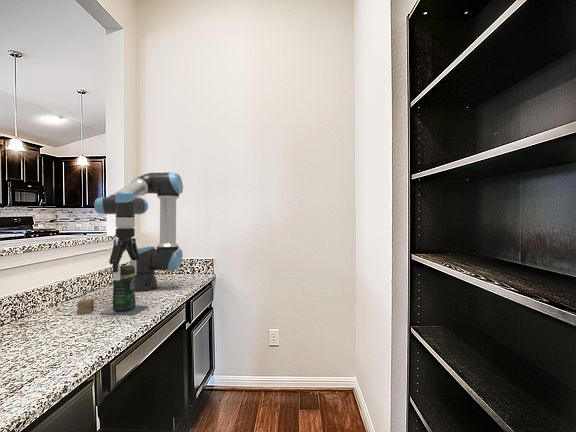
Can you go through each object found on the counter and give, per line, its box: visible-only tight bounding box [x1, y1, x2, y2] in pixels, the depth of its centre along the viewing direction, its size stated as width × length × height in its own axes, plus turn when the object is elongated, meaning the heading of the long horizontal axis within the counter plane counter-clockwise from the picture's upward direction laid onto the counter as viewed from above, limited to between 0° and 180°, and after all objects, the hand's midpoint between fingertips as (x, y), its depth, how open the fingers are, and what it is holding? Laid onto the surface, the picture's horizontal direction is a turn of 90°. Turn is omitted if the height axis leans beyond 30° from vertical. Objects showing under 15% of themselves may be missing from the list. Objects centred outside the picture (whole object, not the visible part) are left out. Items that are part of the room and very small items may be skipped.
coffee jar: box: [111, 264, 137, 311], centre depth 156 cm, size 10×8×19 cm
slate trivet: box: [99, 305, 150, 316], centre depth 156 cm, size 13×15×1 cm
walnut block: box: [76, 298, 95, 316], centre depth 154 cm, size 5×5×5 cm
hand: (125, 277), depth 156 cm, fingers open, 13 cm apart
